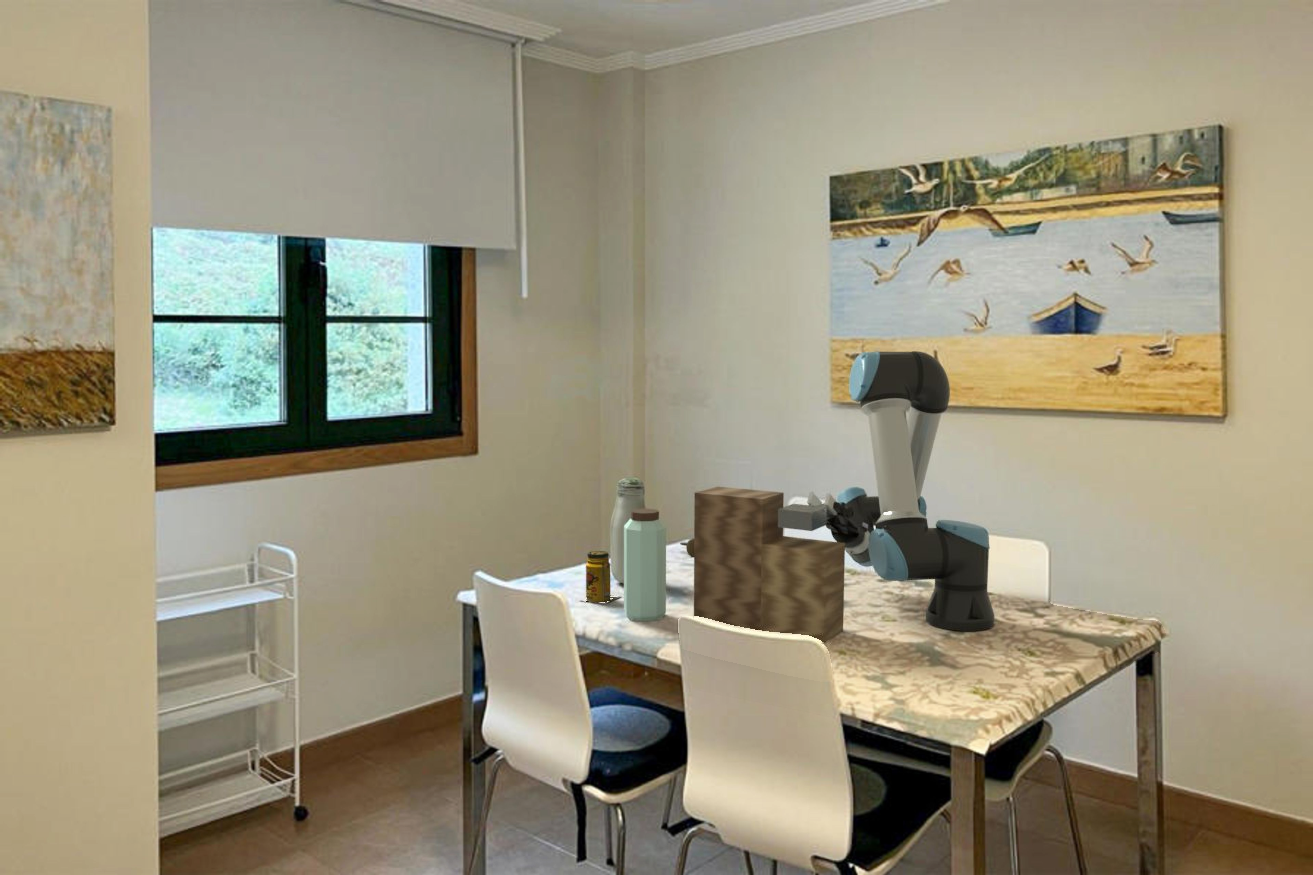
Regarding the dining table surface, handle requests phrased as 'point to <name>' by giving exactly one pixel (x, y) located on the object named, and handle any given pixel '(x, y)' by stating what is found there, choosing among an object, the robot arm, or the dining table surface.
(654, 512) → the water bottle
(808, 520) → the grey t-shaped block
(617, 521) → the glass bottle
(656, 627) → the dining table surface
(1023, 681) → the dining table surface
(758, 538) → the stepped stand
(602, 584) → the condiment
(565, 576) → the dining table surface
